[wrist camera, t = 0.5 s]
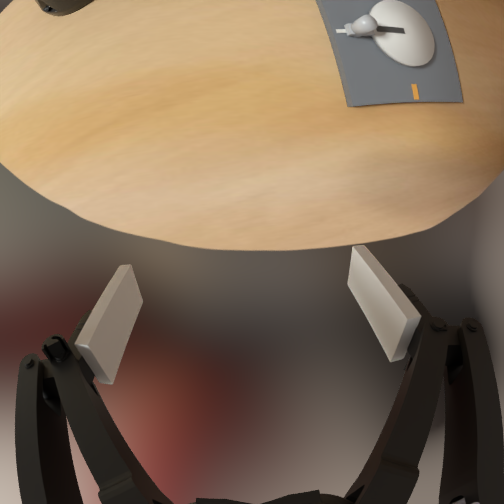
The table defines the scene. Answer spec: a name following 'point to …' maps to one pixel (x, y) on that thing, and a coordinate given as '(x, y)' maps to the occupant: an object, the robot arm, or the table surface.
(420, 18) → the dial
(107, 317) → the robot arm
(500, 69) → the table surface
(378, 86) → the panel
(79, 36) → the table surface
